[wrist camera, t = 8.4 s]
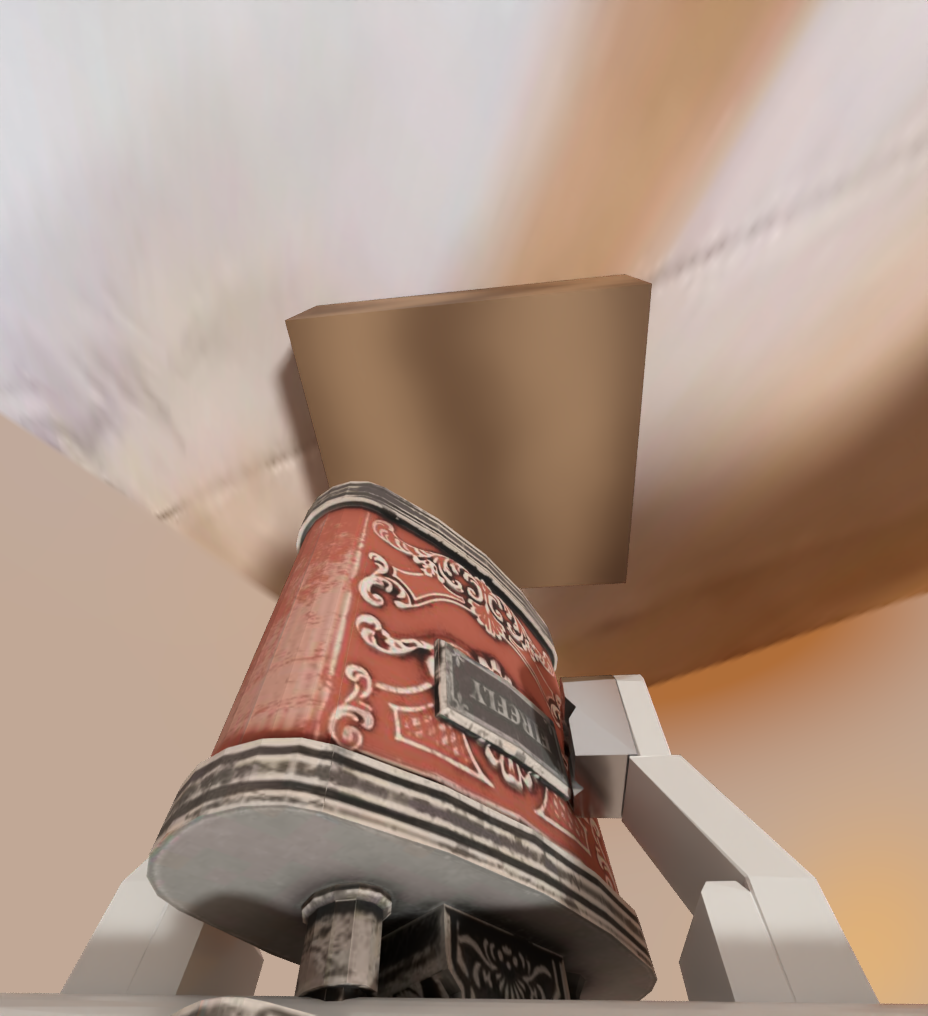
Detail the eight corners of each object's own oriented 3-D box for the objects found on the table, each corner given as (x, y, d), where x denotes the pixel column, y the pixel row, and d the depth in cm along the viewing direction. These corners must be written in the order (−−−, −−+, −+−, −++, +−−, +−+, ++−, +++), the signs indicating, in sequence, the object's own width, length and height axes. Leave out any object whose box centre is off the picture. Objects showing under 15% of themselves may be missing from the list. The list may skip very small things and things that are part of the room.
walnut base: (624, 274, 18) (651, 283, 15) (608, 538, 24) (625, 583, 21) (316, 305, 19) (285, 320, 16) (373, 552, 25) (358, 596, 22)
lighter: (577, 635, 14) (823, 1285, 5) (490, 695, 15) (576, 1329, 6) (366, 449, 11) (105, 1276, 2) (274, 540, 12) (-166, 1363, 3)
